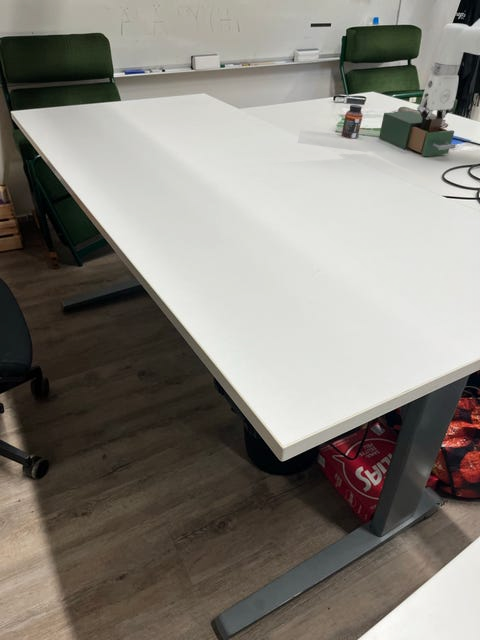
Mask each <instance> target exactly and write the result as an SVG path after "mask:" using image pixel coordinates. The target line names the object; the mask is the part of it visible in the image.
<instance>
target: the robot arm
mask: <svg viewBox="0 0 480 640" xmlns="http://www.w3.org/2000/svg"><path fill="white" fill-rule="evenodd" d="M464 53H468V54H471V55H476V56H480V18H478V19H477V20H476V21H475V22H474V23H473V24H472V25H471V26H470V25H468V24H465V23H458V22H457V23H455V22H453V23H447V24H445V25H444V27H443V29H442V32H441V36H440V40H439V43H438V48H437V52H436V56H435V60H434V63H433V65H432V67H431V74H430V75H429V77H428V80H427V82H426V85H425V87H424V91H423V94H422V98H421V102H420V103H419V104H418V106H417V108H416V110H417V111H418V112H419V115H421V117H422V122H421V126H420V129H422V130H425V131H428V127H429V124H430V120H429V118H430V116H432V114H433V111H436V117H439V118H442V121H443V120H444V119H445V118H446V115H447V114H448V113H449V112H450V111H451V110H452V109H454V107H455V106H454V105H455V101H456V97H457V93H458V87H459V79H460V78H459V75H458V73H459V70H460V66H461V64H462V59H463V57H464V56H463V55H464ZM442 123H443V122H442ZM442 123H441V126H442ZM441 126H440V127H441ZM441 128H442V127H441ZM439 131H440V130H439Z"/></svg>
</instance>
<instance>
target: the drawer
mask: <svg viewBox="0 0 480 640" xmlns="http://www.w3.org/2000/svg"><path fill="white" fill-rule="evenodd" d="M420 126H421V125H415V126H412V127H411V131H410V136H409V140H408V144H407V147H409V148H411V149H413V150H414V151H415V152H418V153H420V154H421V156H422V157H429V156H430V157H431V156H439V155H440V156H441V155H448V154H449V152H450V150H454V149H456V144H455V143H452V141H453V139H454V134H455V130H453V129H451V130H448V129H447V128H443V127H440V131H439V132H427V131H425V130H422V129H420ZM413 150H412V151H413Z"/></svg>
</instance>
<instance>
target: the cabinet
mask: <svg viewBox="0 0 480 640" xmlns="http://www.w3.org/2000/svg"><path fill="white" fill-rule="evenodd" d="M421 122H422V117H421V114H420V113H416V112H414V111H411V110H406V111H405V110H404V111H392V112H391V111H390V112H384V113H383V117H382V122H381V124H380V125H381V126H380V130H379V131H380V132H379V136H378V139H379V140H381V141H384V142H386V143H388V144H390V145H392V146H395V147H397V148H399V149H402V150H403V151H413V149H411V148H409V147H407V144H408V140H409V136H410V131H411V127H412V126H415V125H421Z"/></svg>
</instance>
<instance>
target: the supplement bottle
mask: <svg viewBox="0 0 480 640" xmlns="http://www.w3.org/2000/svg"><path fill="white" fill-rule="evenodd" d="M362 108H363V106H362V105H359V104H350V105H349V110H347V111H346V112H345V115H344V121H343V125H342V130H341V137H343V138H345V139H350V140H357V139H358V138H359V135H360V134H359V133H360V129H361V125H362V121H363V113H362Z"/></svg>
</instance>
